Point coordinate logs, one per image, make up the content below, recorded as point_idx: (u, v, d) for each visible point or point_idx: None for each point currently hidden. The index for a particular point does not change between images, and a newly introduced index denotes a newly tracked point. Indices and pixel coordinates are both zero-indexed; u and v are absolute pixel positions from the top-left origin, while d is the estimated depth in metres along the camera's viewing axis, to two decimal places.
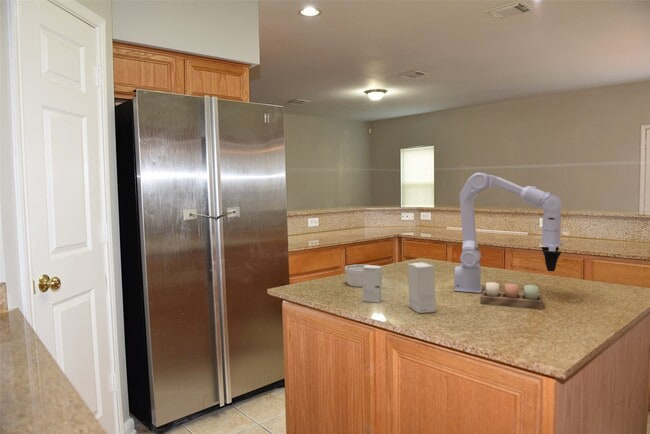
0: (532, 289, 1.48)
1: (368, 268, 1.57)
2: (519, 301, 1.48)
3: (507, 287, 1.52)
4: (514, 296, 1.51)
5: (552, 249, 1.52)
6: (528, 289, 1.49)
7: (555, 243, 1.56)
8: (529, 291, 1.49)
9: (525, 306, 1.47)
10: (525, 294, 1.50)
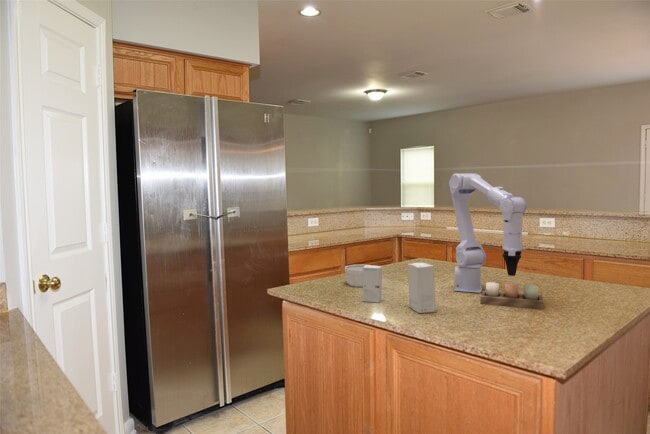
0: (532, 289, 1.48)
1: (368, 268, 1.57)
2: (519, 301, 1.48)
3: (507, 287, 1.52)
4: (514, 296, 1.51)
5: (511, 253, 1.45)
6: (528, 289, 1.49)
7: (516, 247, 1.49)
8: (529, 291, 1.49)
9: (525, 306, 1.47)
10: (525, 294, 1.50)
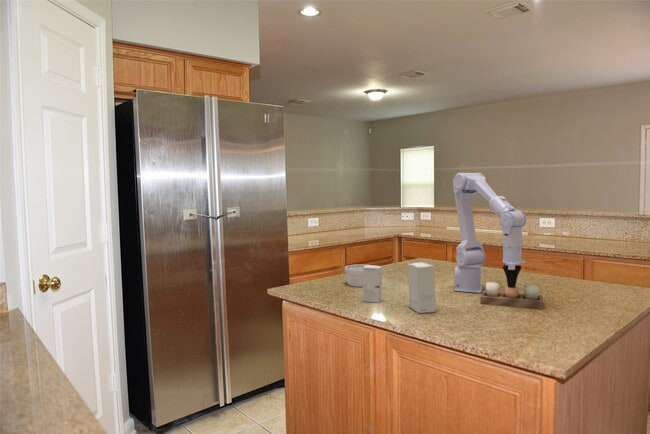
0: (532, 289, 1.48)
1: (368, 268, 1.57)
2: (519, 301, 1.48)
3: (507, 289, 1.52)
4: None
5: (511, 267, 1.46)
6: (528, 289, 1.49)
7: (515, 261, 1.49)
8: (529, 291, 1.49)
9: (525, 306, 1.47)
10: (525, 294, 1.50)
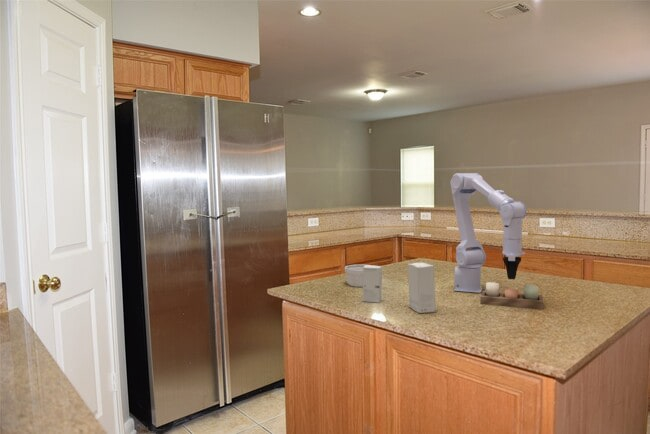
0: (532, 289, 1.48)
1: (368, 268, 1.57)
2: (519, 301, 1.48)
3: (507, 293, 1.52)
4: None
5: (511, 259, 1.45)
6: (528, 289, 1.49)
7: (516, 252, 1.49)
8: (529, 291, 1.49)
9: (525, 306, 1.47)
10: (525, 294, 1.50)
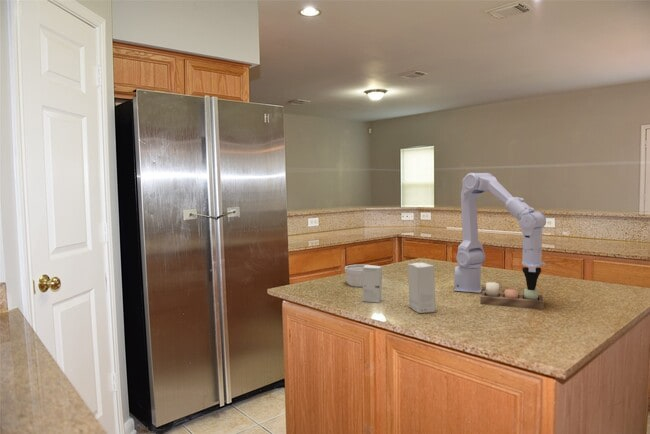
0: (532, 292, 1.49)
1: (368, 268, 1.57)
2: (519, 301, 1.48)
3: (507, 293, 1.52)
4: None
5: (532, 269, 1.43)
6: (528, 292, 1.49)
7: (536, 263, 1.47)
8: (529, 295, 1.49)
9: (525, 306, 1.47)
10: (525, 297, 1.50)
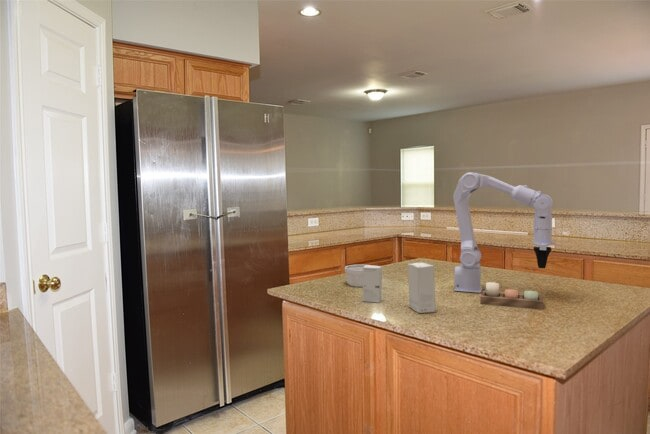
0: (532, 295, 1.49)
1: (368, 268, 1.57)
2: (519, 301, 1.48)
3: (507, 293, 1.52)
4: None
5: (543, 248, 1.52)
6: (528, 295, 1.49)
7: (546, 242, 1.56)
8: (529, 297, 1.49)
9: (525, 306, 1.47)
10: None
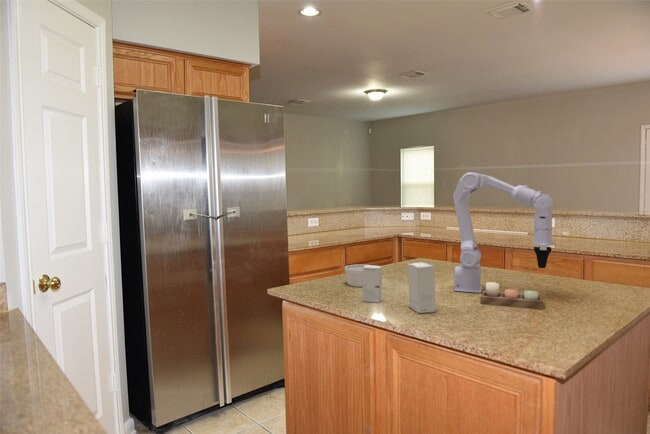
0: (532, 295, 1.49)
1: (368, 268, 1.57)
2: (519, 301, 1.48)
3: (507, 293, 1.52)
4: None
5: (543, 248, 1.52)
6: (528, 295, 1.49)
7: (546, 242, 1.56)
8: (529, 297, 1.49)
9: (525, 306, 1.47)
10: None
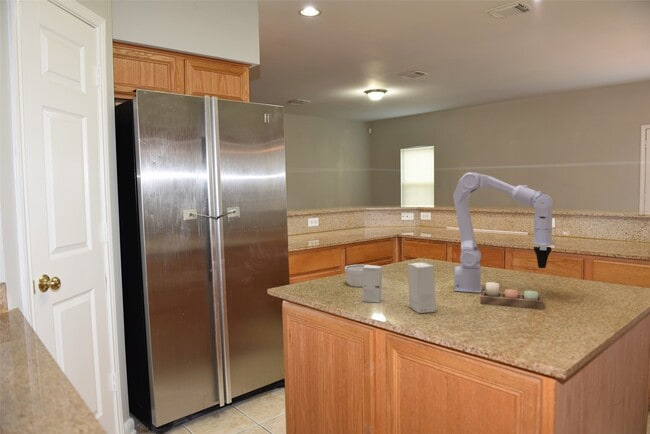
0: (532, 295, 1.49)
1: (368, 268, 1.57)
2: (519, 301, 1.48)
3: (507, 293, 1.52)
4: None
5: (543, 248, 1.52)
6: (528, 295, 1.49)
7: (546, 242, 1.56)
8: (529, 297, 1.49)
9: (525, 306, 1.47)
10: None
